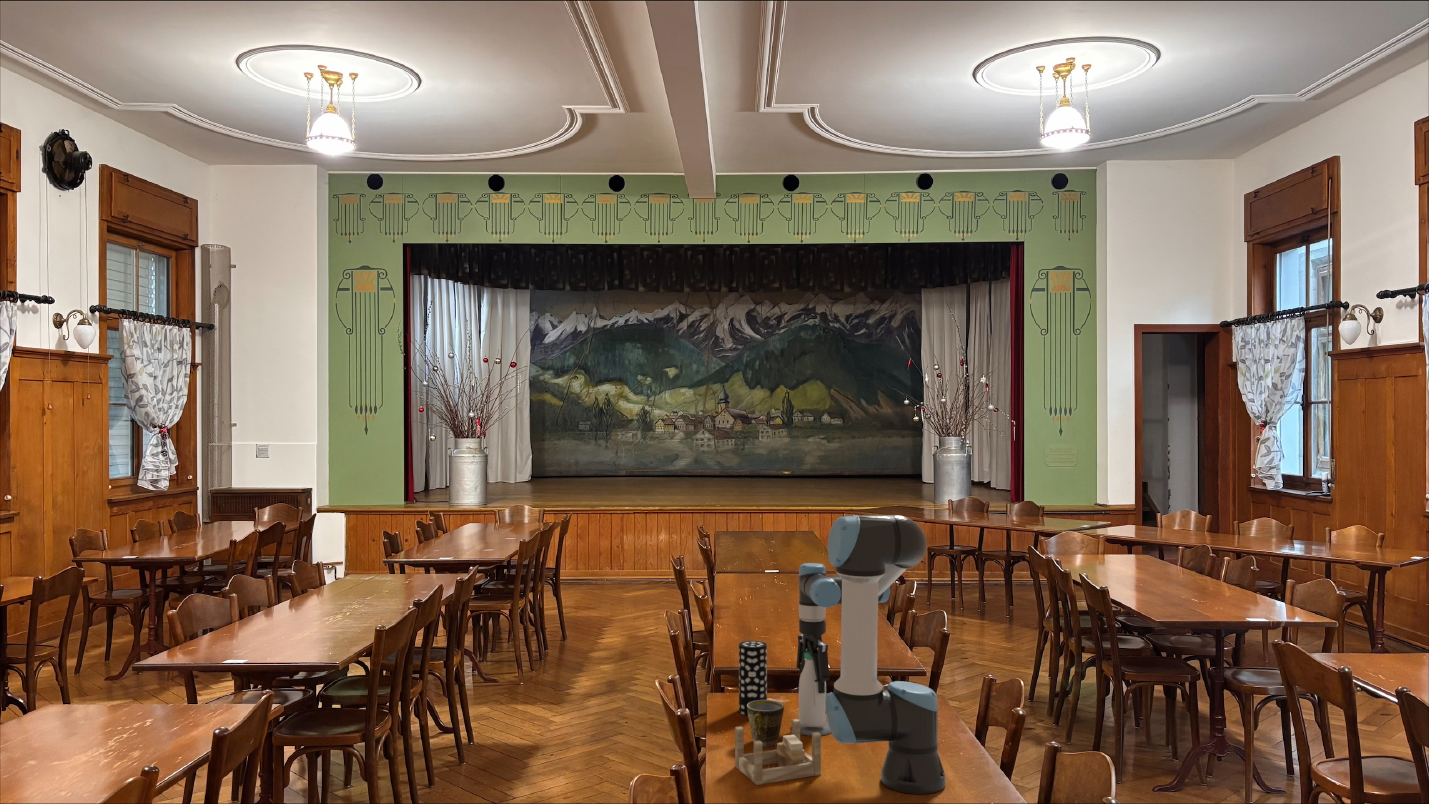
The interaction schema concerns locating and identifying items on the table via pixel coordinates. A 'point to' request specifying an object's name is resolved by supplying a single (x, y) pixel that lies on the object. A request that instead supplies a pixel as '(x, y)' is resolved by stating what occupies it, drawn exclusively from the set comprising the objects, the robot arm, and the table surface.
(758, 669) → the spotted tube
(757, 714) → the ceramic cup
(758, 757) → the rack
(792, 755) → the offcut stack
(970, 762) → the table surface
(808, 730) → the grey round disc
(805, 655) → the milk bottle
